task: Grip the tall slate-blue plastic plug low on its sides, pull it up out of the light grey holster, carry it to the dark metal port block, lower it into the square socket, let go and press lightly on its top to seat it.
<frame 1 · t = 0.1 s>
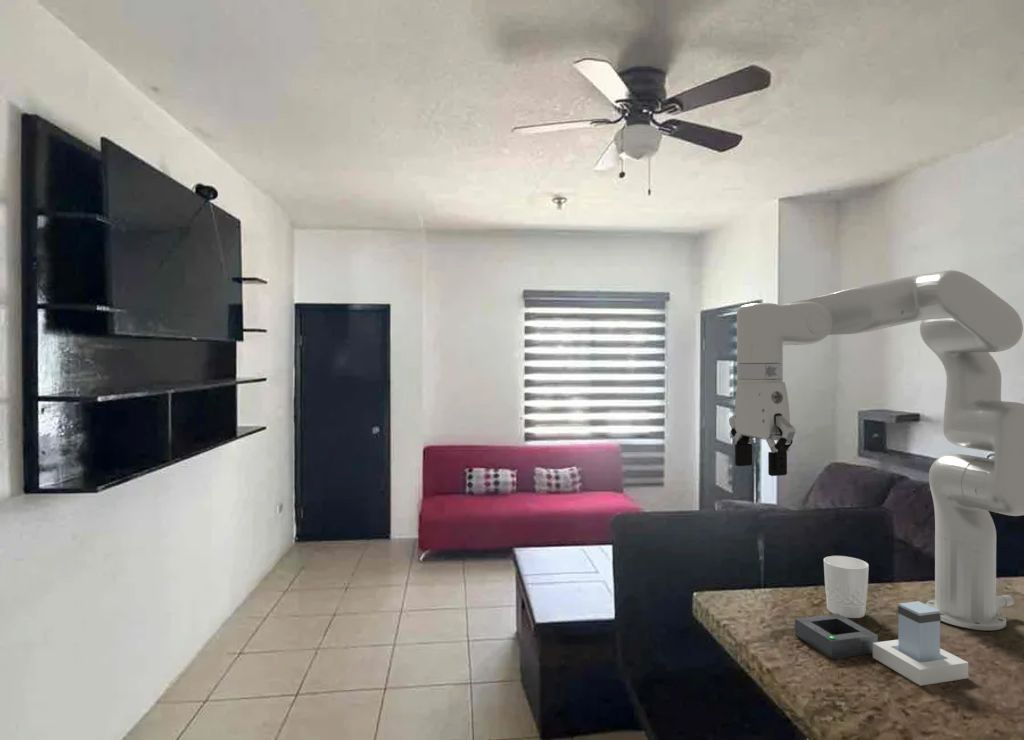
hand: (759, 470, 108), 31 cm above the countertop, tool pointing down, fingers open, 9 cm apart
port: (835, 643, 109), on the countertop
plug: (918, 637, 100), in the holster
white cup: (845, 612, 122), on the countertop
holster: (918, 667, 100), on the countertop
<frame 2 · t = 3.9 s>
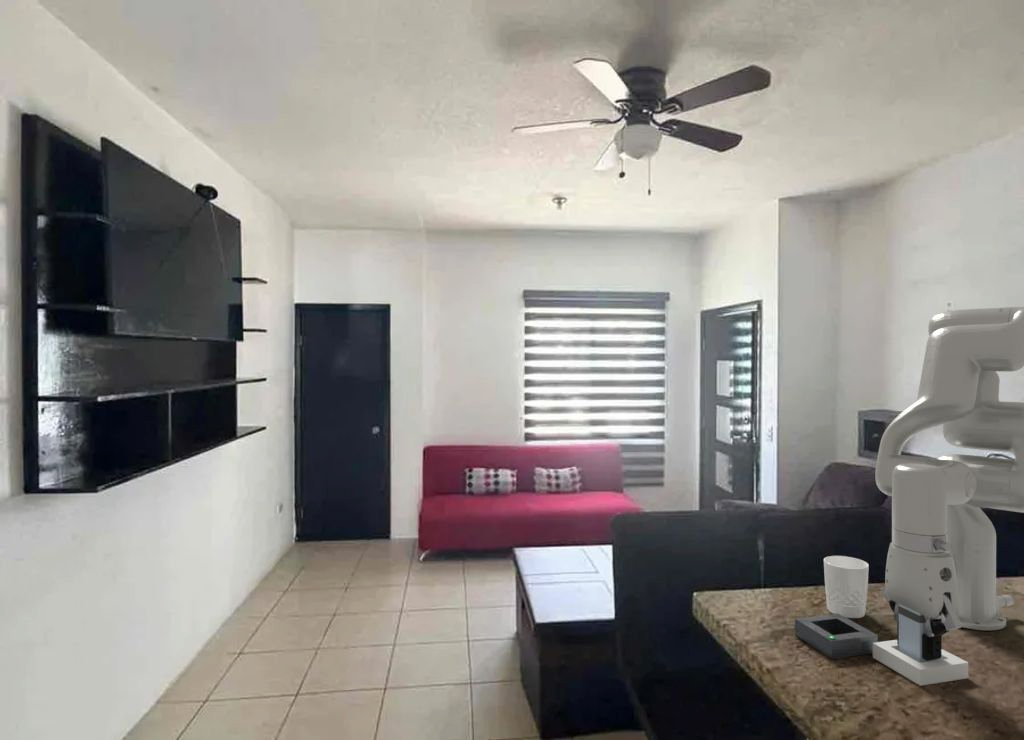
hand: (918, 650, 100), 3 cm above the countertop, tool pointing down, fingers closed on plug, 4 cm apart
plug: (919, 637, 100), in the holster, touching gripper
everything else where it was.
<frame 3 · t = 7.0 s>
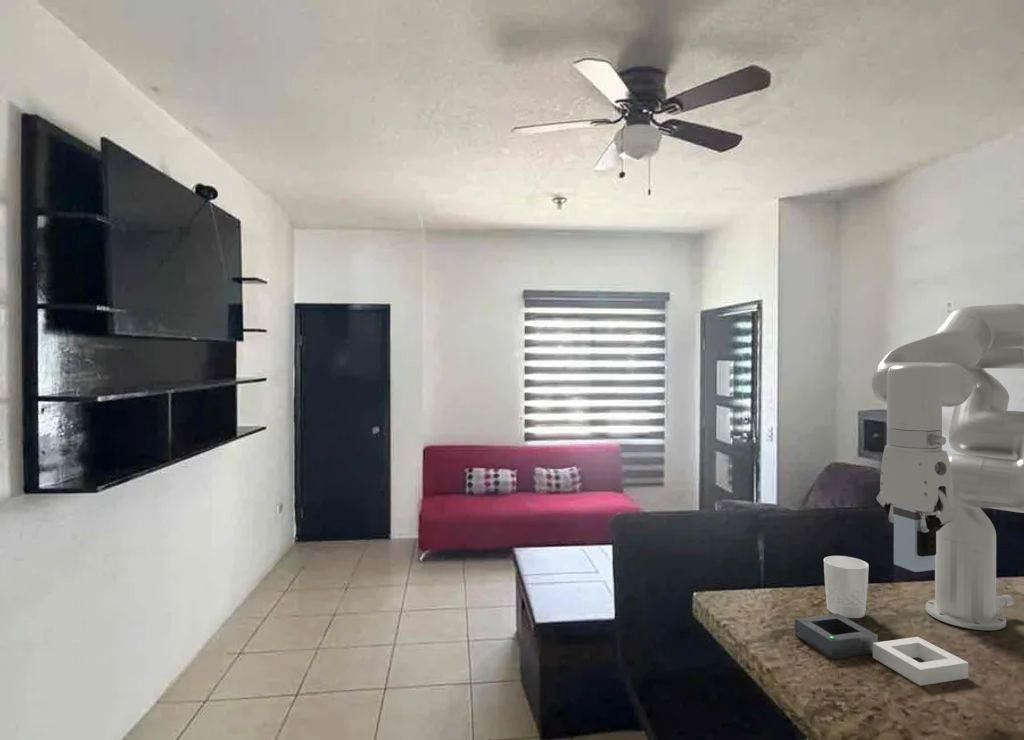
hand: (913, 549, 100), 19 cm above the countertop, tool pointing down, fingers closed on plug, 4 cm apart
plug: (914, 536, 100), point 22 cm above the countertop, touching gripper
everything else where it was.
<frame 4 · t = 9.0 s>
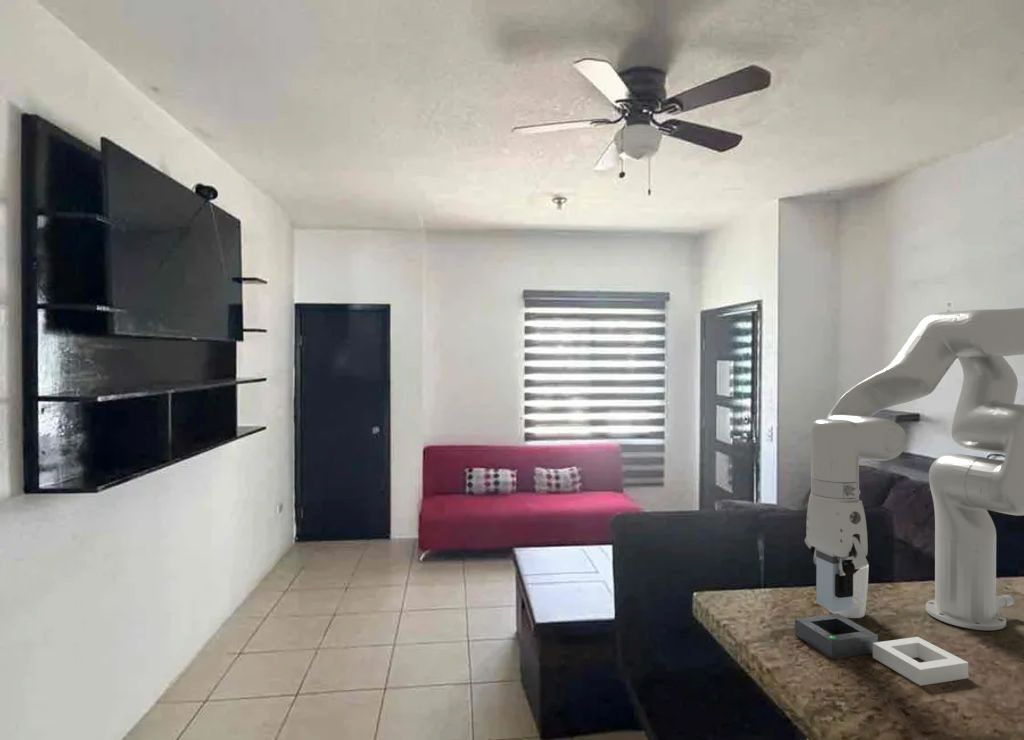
hand: (834, 590, 108), 9 cm above the countertop, tool pointing down, fingers closed on plug, 4 cm apart
plug: (834, 578, 108), point 12 cm above the countertop, touching gripper
everything else where it was.
when the fingers open (4 cm above the countertop, at t = 10.4 s): plug stays where it is, resting in port.
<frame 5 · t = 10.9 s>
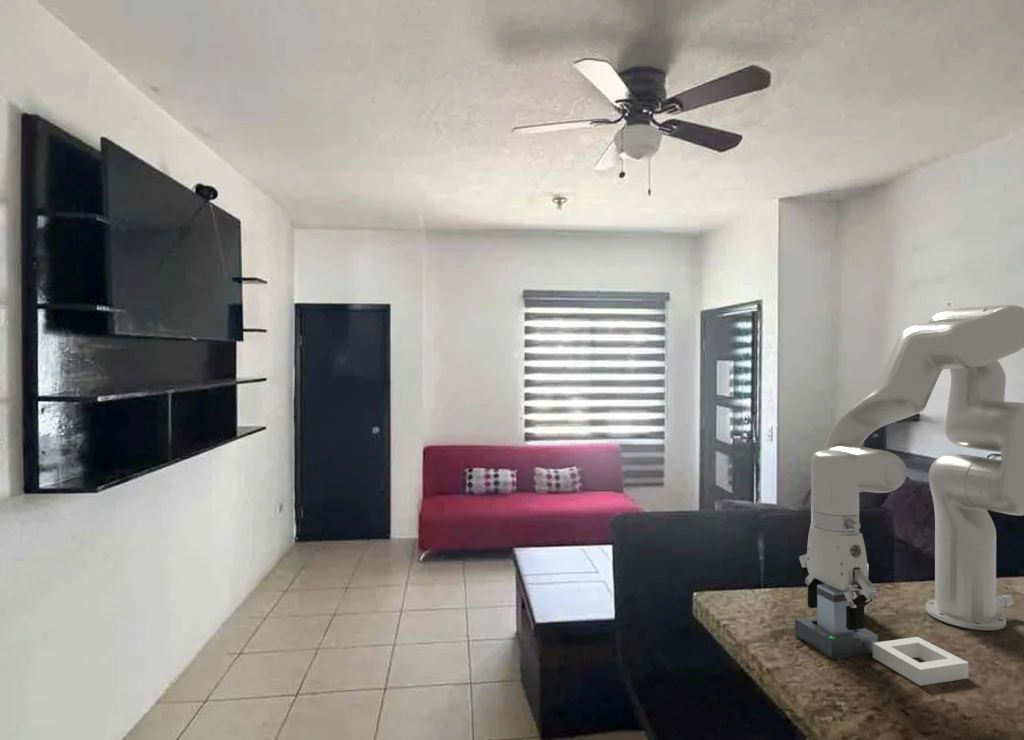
hand: (834, 617, 108), 5 cm above the countertop, tool pointing down, fingers open, 9 cm apart
plug: (835, 615, 108), in the port
everything else where it was.
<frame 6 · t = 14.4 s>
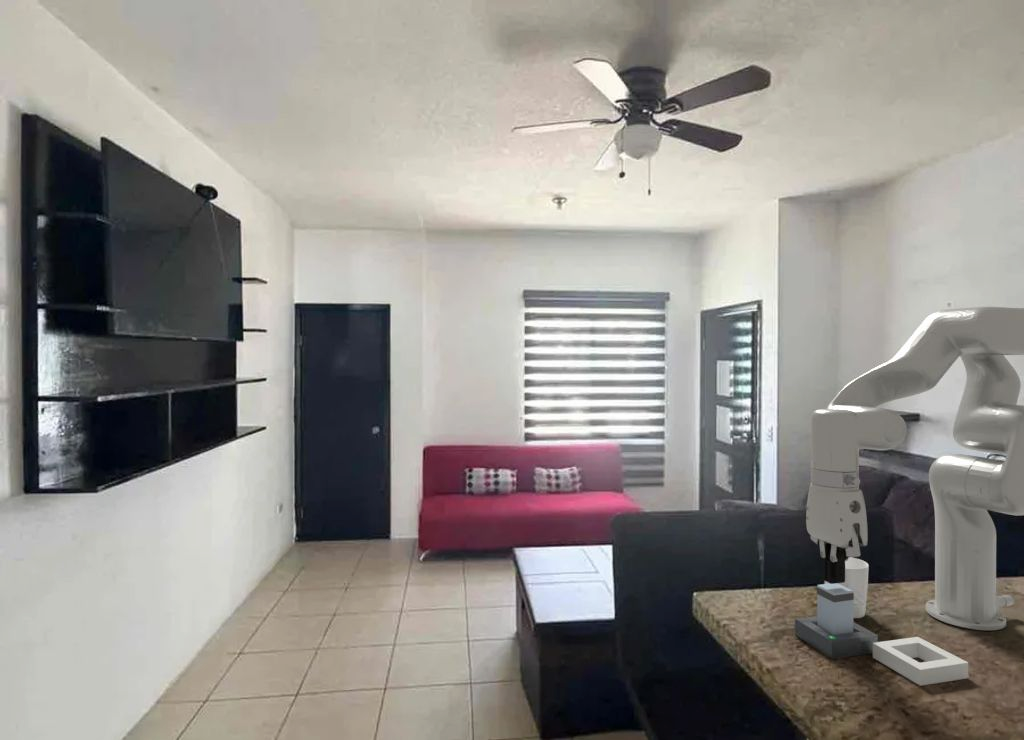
hand: (834, 581, 108), 11 cm above the countertop, tool pointing down, fingers closed
nothing on the countertop moved.
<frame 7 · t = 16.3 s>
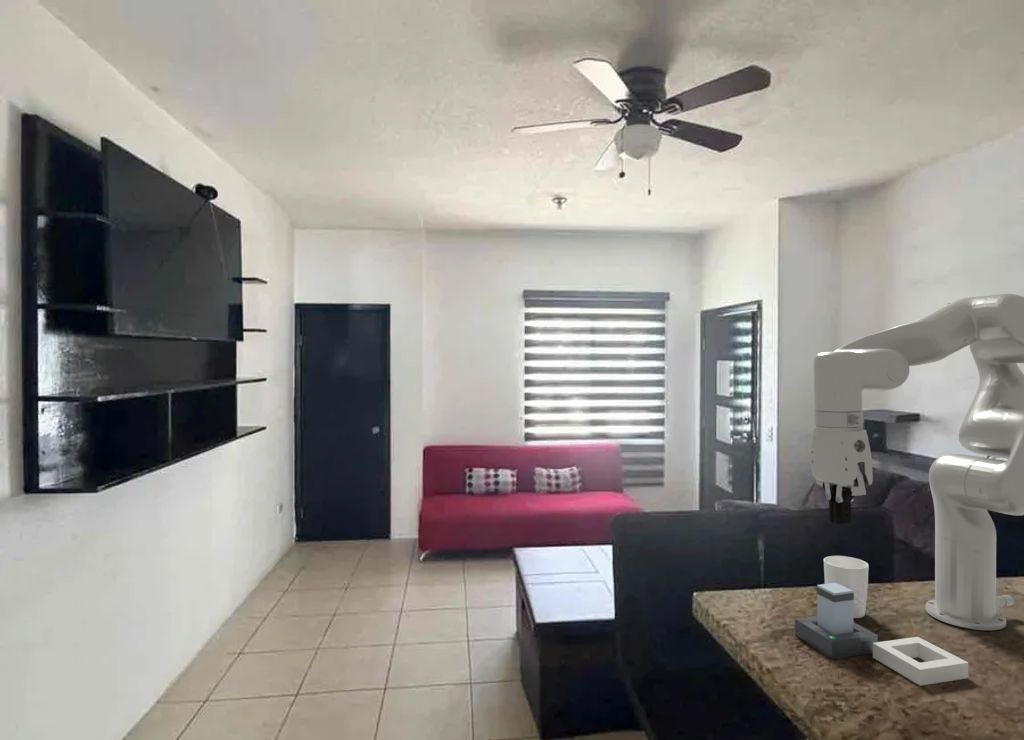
hand: (840, 522, 109), 21 cm above the countertop, tool pointing down, fingers closed
nothing on the countertop moved.
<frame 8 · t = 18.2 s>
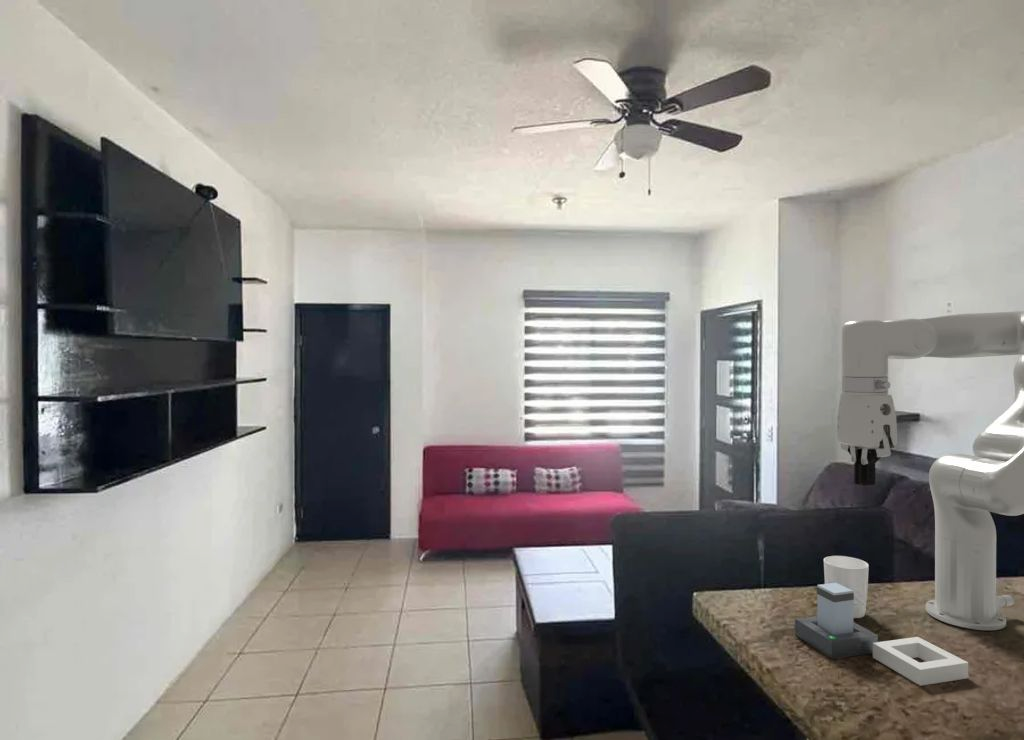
hand: (864, 484, 114), 27 cm above the countertop, tool pointing down, fingers closed
nothing on the countertop moved.
at the end: plug 0.0 cm off-centre on the port, point 5.0 cm above the port's base; plug tilted 0°; the gripper is holding nothing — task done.
